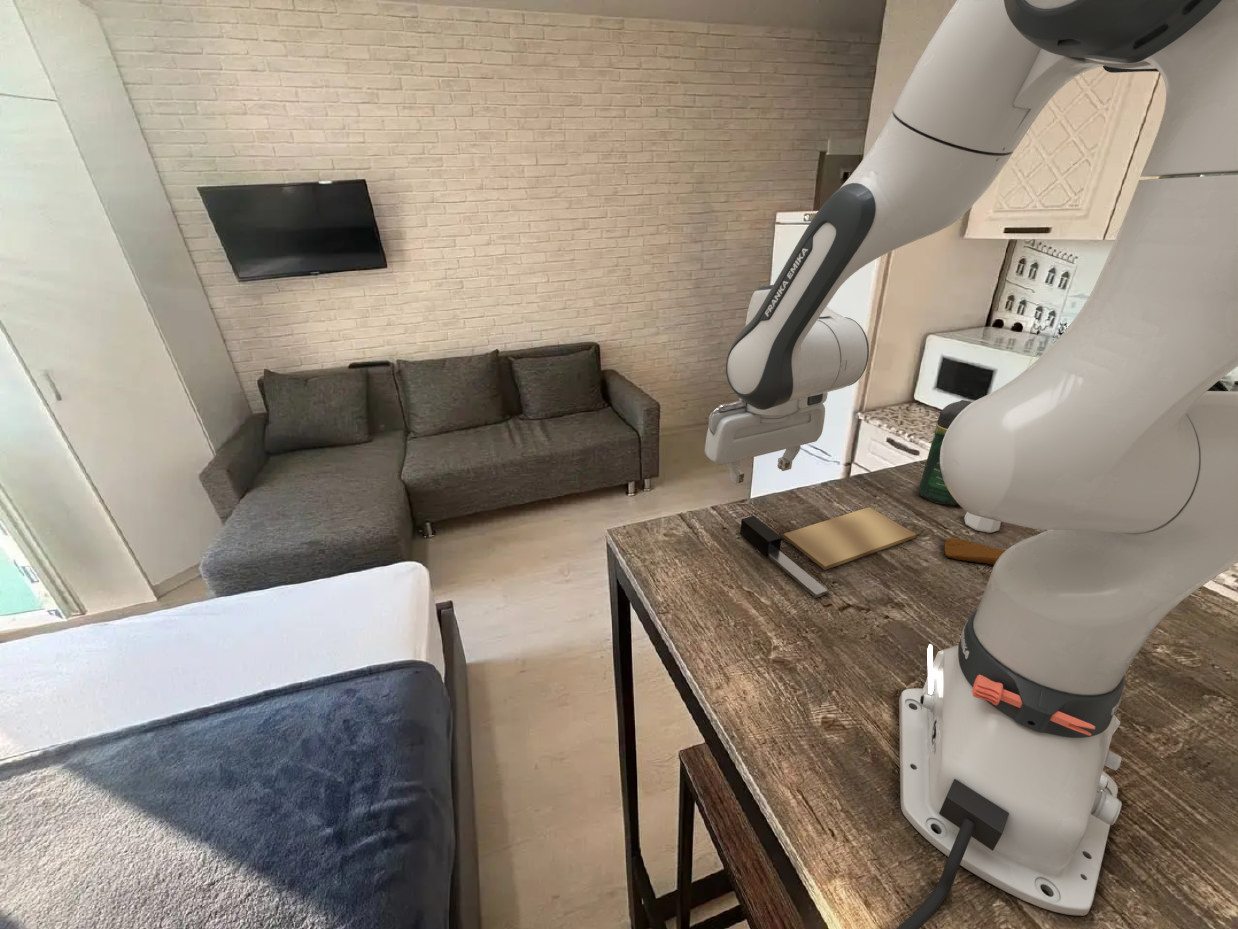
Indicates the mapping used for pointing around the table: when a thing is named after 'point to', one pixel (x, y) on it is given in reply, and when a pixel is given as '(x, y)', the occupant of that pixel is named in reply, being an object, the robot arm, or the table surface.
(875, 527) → the cutting board
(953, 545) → the primitive tool
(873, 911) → the table surface
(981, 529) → the pepper shaker
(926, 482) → the coffee jar
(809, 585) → the knife
